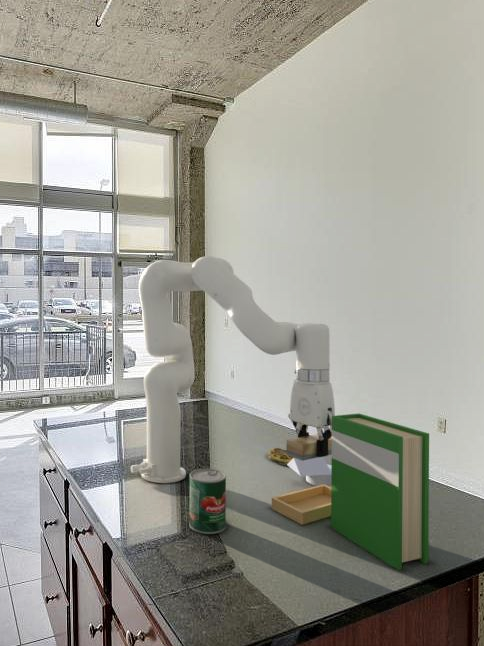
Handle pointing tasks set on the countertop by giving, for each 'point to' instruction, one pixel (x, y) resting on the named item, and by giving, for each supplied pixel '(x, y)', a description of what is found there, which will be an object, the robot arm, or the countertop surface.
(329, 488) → the holder
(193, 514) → the canned tomato
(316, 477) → the wedge on round base
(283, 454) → the yellow-brown textured oval
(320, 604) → the countertop surface
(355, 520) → the hardback book
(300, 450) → the eraser
